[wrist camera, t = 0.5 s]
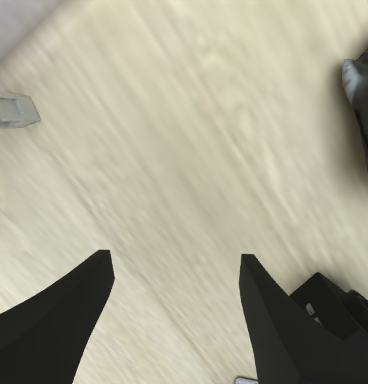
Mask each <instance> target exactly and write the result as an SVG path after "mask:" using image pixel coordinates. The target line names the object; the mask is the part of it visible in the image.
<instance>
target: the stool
mask: <svg viewBox="0 0 368 384" xmlns="http://www.w3.org/2000/svg"><path fill="white" fill-rule="evenodd" d="M37 121H40V118H39V115H38V113H37V111H36V109H35V106H34V104H33V102H32V100H31V98H30V97H28V96H21V95H14V94H7V93H1V92H0V128H22V127H24V126H27V125H29V124H32V123H35V122H37Z"/></svg>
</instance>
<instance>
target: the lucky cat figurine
mask: <svg viewBox="0 0 368 384" xmlns="http://www.w3.org/2000/svg"><path fill="white" fill-rule="evenodd" d="M342 84H343V88H344V90H345V92H346V96H347V97H348V99H349V101H350V103H351V105H352V107H353V109H354V111H355V114H356V117H357V120H358V123H359V126H360V132H361V137H362V142H363V148H364V153H365V158H366V164H367V170H368V49H367V51H366V52H364V53H363V54H362V55H361V56H360V57H359V58H358V59H357V60H348V59H345V60H344V62H343V71H342Z"/></svg>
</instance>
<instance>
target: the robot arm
mask: <svg viewBox="0 0 368 384" xmlns="http://www.w3.org/2000/svg"><path fill="white" fill-rule="evenodd" d="M114 280H115V277H114V271H113V265H112V259H111V254H110V250H98V251H97V252H95V253H94V254H93V255H91V256H90V257H89V258H87V259H86V260H85V261H84V262H82V263H81V264H80V265H78V266H77V267H76V268H74V269H73V270H72V271H70V272H69V273H68V274H66V275H65V276H63V277H62V278H61V279H59V280H58V281H56V282H55V283H53V284H52V285H51V286H49V287H47V288H46V289H44V290H43V291H41V292H40V293H38V294H36V295H35V296H33V297H31V298H29V299H28V300H26V301H24V302H22V303H20V304H18V305H16V306H15V307H13V308H11V309H9V310H7V311H5V312H3V313H1V314H0V384H72V383H73V380H74V377H75V374H76V371H77V368H78V365H79V363H80V360H81V357H82V355H83V352H84V349H85V347H86V344H87V342H88V340H89V337H90V335H91V333H92V331H93V329H94V327H95V325H96V323H97V321H98V319H99V317H100V315H101V312H102V310H103V308H104V306H105V304H106V302H107V300H108V298H109V295H110V292H111V289H112V286H113V283H114ZM239 289H240V296H241V303H242V307H243V311H244V316H245V320H246V324H247V328H248V332H249V336H250V340H251V344H252V348H253V353H254V358H255V364H256V371H257V377H258V381H253V380H248V379H243V378H238V379H236V382H235V384H368V357H367V356H365V355H363V354H362V353H360V352H359V351H357V350H355V349H354V348H352V347H351V346H349V345H348V344H347V343H345V342H344V341H342V340H341V339H339V338H338V337H336V336H335V335H334V334H332V333H331V332H330V331H328V330H327V329H326V328H324V327H323V326H322V325H321V324H319V323H318V322H317V321H316V320H314V319H313V318H312V317H311V316H310V315H308V314H307V313H306V312H305V311H304V310H303V309H302V308H300V307H299V306H298V305H297V304H296V303H295V302H294V301H293V300H292V299H291V298H290V297H289V296H288V295H287V294H286V293H285V292H284V291H283V290H282V288H281V287H280V286H279V285H278V284H277V283H276V282H275V281H274V279H273V278H272V277H271V276H270V275H269V273H268V272H267V271H266V270H265V268H264V267H263V266H262V265H261V263H260V262H259V261H258V259H257V258H256V257H255V255H254V254H242V256H241V266H240V277H239Z"/></svg>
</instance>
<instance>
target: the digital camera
mask: <svg viewBox="0 0 368 384" xmlns="http://www.w3.org/2000/svg"><path fill="white" fill-rule="evenodd" d="M289 297H290V298H291V299H292V300H293V301H294V302H295V303H296V304H297V305H298V306H299V307H300V308H302V309H303V310H304V311H305V312H306V313H307V314H308V315H310V316H311V317H312V318H313V319H314V320H316V321H317V322H318V323H319V324H321V325H322V326H323V327H324V328H326V329H327V330H328V331H330V332H331V333H332V334H334V335H335V336H336V337H338V338H339V339H341V340H342V341H344V342H345V343H347V344H348V345H349V346H351V347H352V348H354V349H355V350H357V351H359V352H360V353H362V354H363V355H365V356H367V357H368V300H367V299H365V298H364V297H363V296H362V295H360V294H359V293H358V292H356V291H355V290H352V289H351V290H350V291H349V292H348V293H346V292H344V291H343V290H342V289H340V288H339V287H338V286H336V285H335V284H334V283H332V282H331V281H330V280H328V279H327V278H326V277H324V276H323V275H322V274H320V273H316V274H315V275H314V276H313V277H312V278H310V279H309V280H308V281H307V282H306V283H305V284H303V285H302V286H301V287H300V288H299V289H298V290H296V291H295V292H294V293H293V294H292V295H291V296H289Z"/></svg>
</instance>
